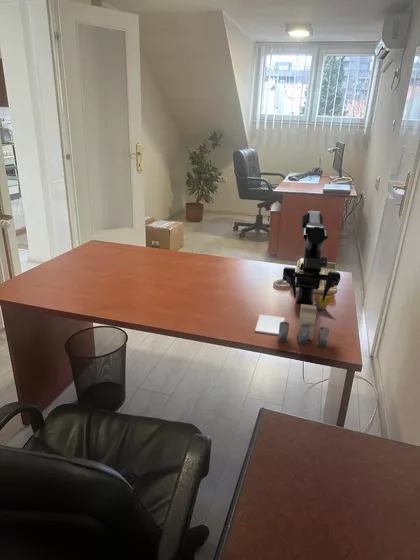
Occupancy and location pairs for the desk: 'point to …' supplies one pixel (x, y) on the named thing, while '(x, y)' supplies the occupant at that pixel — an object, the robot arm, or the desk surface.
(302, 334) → the cylinder
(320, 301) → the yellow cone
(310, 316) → the birch block
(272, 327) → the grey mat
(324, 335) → the block
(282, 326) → the steel spacer
